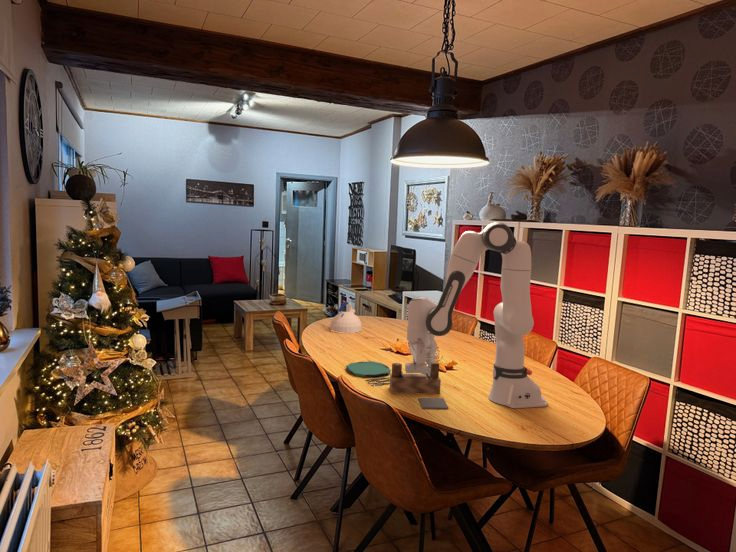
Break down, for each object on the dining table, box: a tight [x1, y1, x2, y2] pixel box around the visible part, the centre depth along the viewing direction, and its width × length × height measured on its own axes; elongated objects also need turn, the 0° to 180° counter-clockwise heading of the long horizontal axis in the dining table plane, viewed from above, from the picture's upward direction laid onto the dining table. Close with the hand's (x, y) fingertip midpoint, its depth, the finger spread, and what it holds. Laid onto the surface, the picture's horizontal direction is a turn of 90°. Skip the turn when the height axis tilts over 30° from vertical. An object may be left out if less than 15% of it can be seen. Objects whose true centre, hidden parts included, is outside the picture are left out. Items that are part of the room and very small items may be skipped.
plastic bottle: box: [420, 332, 438, 374], centre depth 227 cm, size 6×7×20 cm
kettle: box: [329, 301, 363, 334], centre depth 314 cm, size 20×21×18 cm
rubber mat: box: [417, 397, 450, 410], centre depth 194 cm, size 10×10×1 cm
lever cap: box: [404, 362, 428, 374], centre depth 208 cm, size 9×4×4 cm, turn 93°
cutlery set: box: [345, 360, 392, 387], centre depth 228 cm, size 20×30×2 cm, turn 22°
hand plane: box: [389, 361, 442, 395], centre depth 208 cm, size 20×7×12 cm, turn 93°
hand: (416, 368), depth 208 cm, fingers closed on lever cap, 4 cm apart
